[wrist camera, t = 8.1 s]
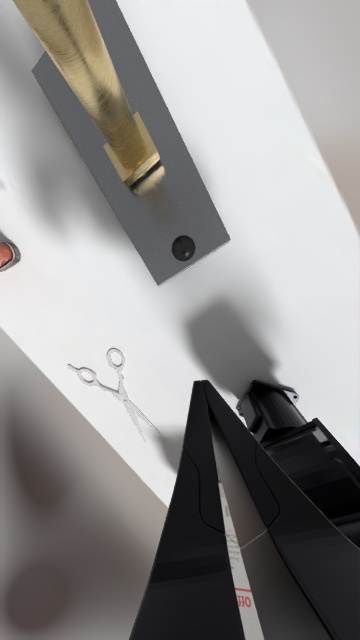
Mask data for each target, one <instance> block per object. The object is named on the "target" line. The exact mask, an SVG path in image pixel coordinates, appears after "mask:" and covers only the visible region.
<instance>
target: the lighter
mask: <svg viewBox="0 0 360 640" xmlns="http://www.w3.org/2000/svg"><path fill="white" fill-rule="evenodd" d="M20 260H21V254H20V251H19V249H18V248H17V247H16V246H15V245H14V244H10V243H6V242H1V243H0V272H3V271H6V270H8V269H9V268H11V267H13V266H14V265H16V264H17V263H18V262H19V261H20Z"/></svg>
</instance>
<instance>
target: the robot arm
mask: <svg viewBox="0 0 360 640" xmlns="http://www.w3.org/2000/svg"><path fill="white" fill-rule="evenodd" d="M255 384H257V385H255ZM298 399H299V395H298V394H297V393H296V392H293V391H290V390H286V389H283V388H280V387H277V386H273V385H270V384H267V383H264V382H260V381H257V380H254V381H253V382H252V384H251V386H250V388H249V390H248V392H247V393H246V394H245V396H244V398H243V400H242V403H241V405H240V406H241V407H240V409H239V411H238V412H239V415H240V416H242V417H244V418H245V421H246V424H247V427H248V429H247V427H246V426H245V425H244V424H243V422H242V421H241V420H240V419H239V417H238V416H237V415H236V414H235V413H234V411H233V410H232V409H231V408H230V406H229V405H228V404H227V403H226V401H225V400H224V399H223V398H222V396H221V395H220V394H219V393H218V392H217V390H216V389H215V388H214V387H213V385H212V384H211V383H210V382H209V381H208V380H201V381H200V380H199V381H194V383H193V389H192V394H191V400H190V406H189V412H188V418H187V424H186V430H185V435H184V441H183V447H182V453H181V458H180V464H179V469H178V474H177V478H176V482H175V486H174V490H173V494H172V498H171V502H170V505H169V509H168V513H167V516H166V520H165V523H164V527H163V531H162V534H161V538H160V542H159V546H158V549H157V552H156V556H155V559H154V563H153V567H152V570H151V573H150V576H149V579H148V583H147V586H146V589H145V592H144V595H143V598H142V601H141V604H140V607H139V610H138V614H137V617H136V620H135V623H134V626H133V629H132V632H131V635H130V638H129V640H246V639H245V634H244V630H243V625H242V620H241V615H240V610H239V605H238V600H237V596H236V591H235V586H234V581H233V576H232V571H231V565H230V559H229V553H228V547H227V540H226V535H225V525H224V518H223V511H222V504H221V497H220V490H219V482H218V475H217V468H216V464H217V467H218V471H219V475H220V478H221V482H222V486H223V489H224V493H225V497H226V500H227V504H228V508H229V511H230V515H231V519H232V523H233V526H234V530H235V534H236V537H237V541H238V545H239V548H240V552H241V556H242V560H243V563H244V567H245V571H246V574H247V578H248V582H249V585H250V589H251V593H252V596H253V600H254V604H255V607H256V611H257V615H258V618H259V622H260V626H261V630H262V633H263V637H264V640H360V466H359V465H358V464H357V463H356V461H355V460H354V459H353V458H352V457H351V456H350V455H349V453H348V452H347V451H346V450H345V449H344V448H343V447H342V445H341V444H340V443H339V442H338V441H337V440H336V439H335V438H334V436H333V435H332V434H331V433H330V432H329V431H328V430H327V429H326V427H325V426H324V425H323V424H322V423H321V422H320V421H319V420H318V418H314V419H312V420H313V421H311V422H307V421H306V419H305V418H304V417H303V416H302V414H301V413H300V412H299V410H298V409H297V408H296V406H295V404H296V402H297V400H298ZM251 432H252V434H253V435H252V434H251ZM215 460H216V461H215Z"/></svg>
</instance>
